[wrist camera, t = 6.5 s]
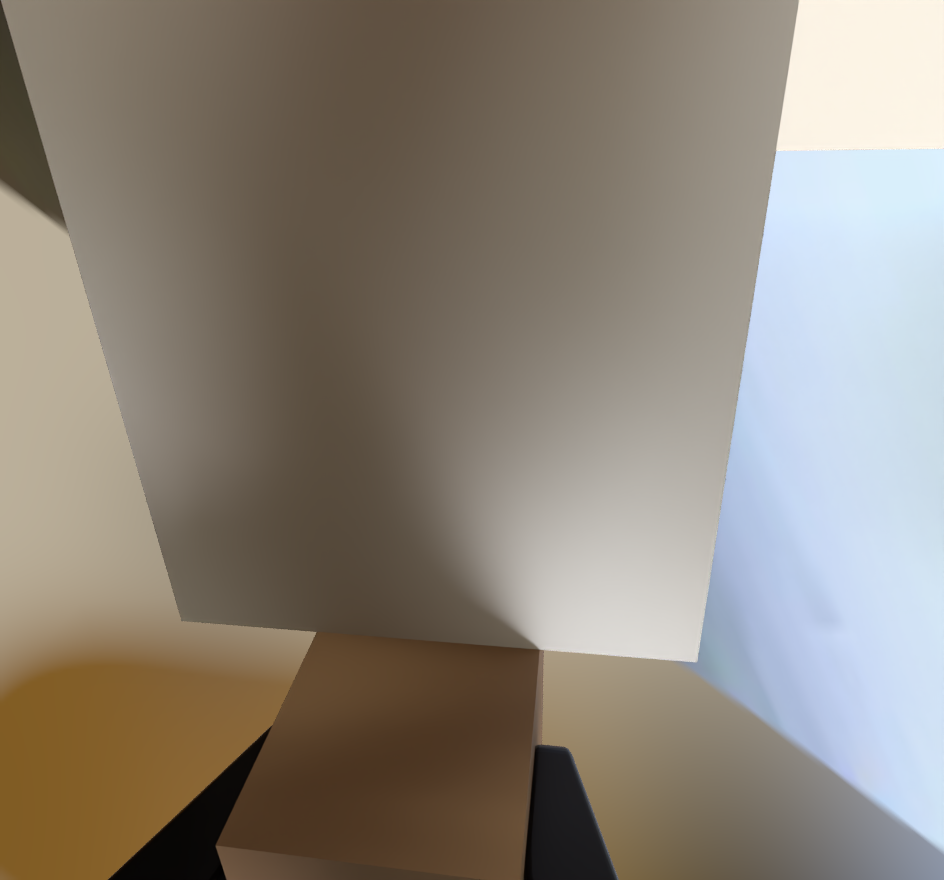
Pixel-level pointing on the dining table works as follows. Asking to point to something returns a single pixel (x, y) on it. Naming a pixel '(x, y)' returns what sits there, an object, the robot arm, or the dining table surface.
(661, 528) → the two-tone stepped block
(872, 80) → the board
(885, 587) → the dining table surface
